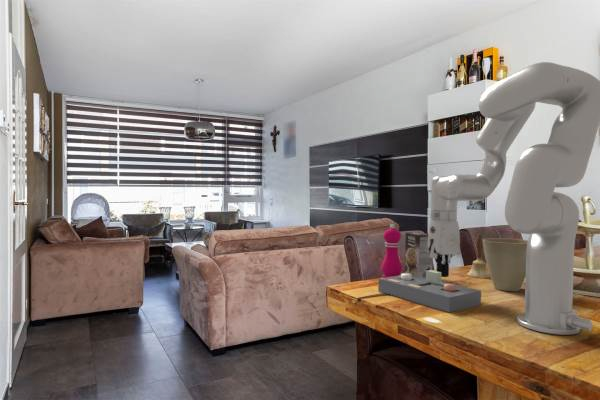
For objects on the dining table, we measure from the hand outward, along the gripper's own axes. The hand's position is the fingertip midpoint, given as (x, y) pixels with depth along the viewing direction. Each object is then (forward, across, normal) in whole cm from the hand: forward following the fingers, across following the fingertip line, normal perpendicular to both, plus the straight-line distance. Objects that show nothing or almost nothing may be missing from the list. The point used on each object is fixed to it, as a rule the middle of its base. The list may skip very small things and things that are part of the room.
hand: (442, 276), depth 123 cm
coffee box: (+6, +15, +22) cm, 27 cm away
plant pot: (+6, +25, -6) cm, 26 cm away
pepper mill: (+6, +1, +22) cm, 23 cm away
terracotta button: (+2, -7, -8) cm, 11 cm away
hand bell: (+6, +36, +11) cm, 38 cm away
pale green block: (+5, -4, 0) cm, 6 cm away
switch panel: (+6, -7, 0) cm, 9 cm away
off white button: (+2, -7, +8) cm, 11 cm away
